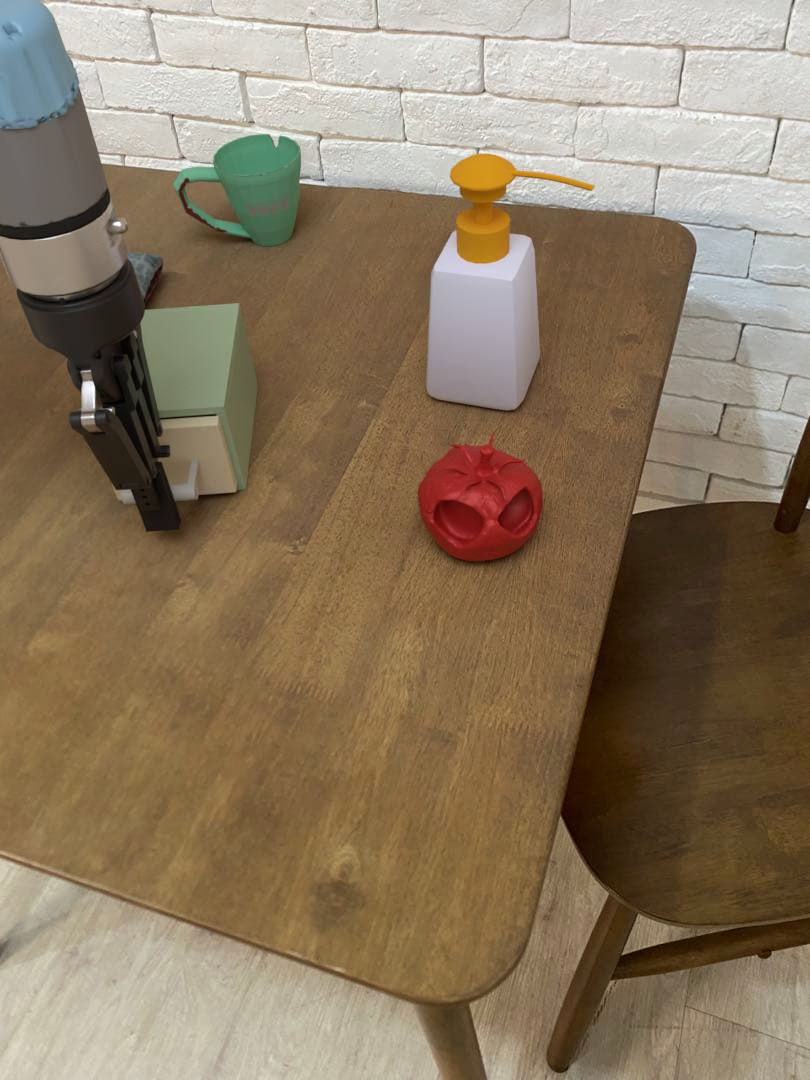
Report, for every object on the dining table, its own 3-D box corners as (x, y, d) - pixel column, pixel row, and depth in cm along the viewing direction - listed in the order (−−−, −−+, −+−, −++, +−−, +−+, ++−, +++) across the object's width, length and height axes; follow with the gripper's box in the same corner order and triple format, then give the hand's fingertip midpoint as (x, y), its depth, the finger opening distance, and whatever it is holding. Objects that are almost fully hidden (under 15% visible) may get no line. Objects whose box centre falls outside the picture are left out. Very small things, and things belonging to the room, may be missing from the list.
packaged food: (65, 337, 100) (49, 297, 97) (98, 275, 108) (85, 236, 104) (143, 338, 99) (131, 298, 96) (172, 275, 107) (161, 236, 104)
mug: (305, 208, 115) (292, 127, 108) (319, 248, 109) (307, 166, 101) (187, 229, 114) (166, 149, 106) (194, 272, 107) (172, 190, 100)
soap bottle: (565, 426, 86) (584, 199, 69) (421, 402, 89) (407, 181, 73) (586, 363, 92) (608, 140, 75) (450, 343, 95) (443, 126, 79)
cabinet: (246, 489, 83) (223, 406, 76) (116, 498, 83) (82, 416, 76) (258, 385, 93) (239, 302, 86) (142, 393, 93) (113, 311, 86)
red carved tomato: (416, 493, 81) (409, 411, 74) (530, 482, 81) (534, 399, 74) (426, 581, 75) (420, 500, 68) (550, 569, 75) (557, 487, 68)
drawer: (232, 528, 79) (211, 460, 73) (109, 536, 79) (80, 469, 73) (248, 393, 91) (232, 326, 85) (142, 400, 91) (118, 334, 85)
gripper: (111, 324, 56) (199, 581, 73) (146, 218, 64) (217, 470, 82) (-13, 332, 56) (104, 587, 73) (39, 226, 65) (132, 476, 82)
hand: (164, 525), depth 77 cm, fingers closed
